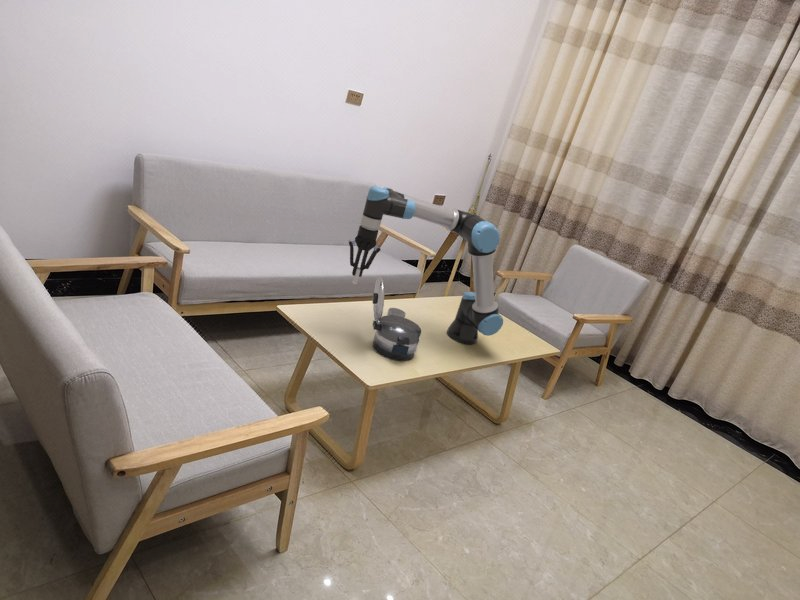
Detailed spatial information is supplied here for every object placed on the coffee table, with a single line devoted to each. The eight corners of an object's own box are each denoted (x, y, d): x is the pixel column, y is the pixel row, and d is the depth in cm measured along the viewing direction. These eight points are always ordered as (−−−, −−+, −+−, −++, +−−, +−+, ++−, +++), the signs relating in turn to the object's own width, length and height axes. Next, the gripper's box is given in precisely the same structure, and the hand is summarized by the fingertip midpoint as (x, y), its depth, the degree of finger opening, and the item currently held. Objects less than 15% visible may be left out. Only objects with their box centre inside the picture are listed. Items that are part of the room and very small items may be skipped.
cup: (398, 337, 244) (404, 317, 240) (381, 331, 245) (386, 311, 241) (401, 330, 251) (407, 311, 248) (385, 325, 252) (390, 306, 249)
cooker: (409, 341, 243) (416, 317, 239) (419, 367, 222) (427, 341, 218) (365, 333, 238) (371, 308, 234) (370, 359, 217) (378, 333, 213)
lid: (382, 270, 225) (373, 269, 224) (387, 286, 209) (378, 285, 208) (376, 313, 232) (368, 313, 232) (381, 332, 216) (372, 331, 215)
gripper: (384, 228, 212) (369, 283, 221) (352, 220, 209) (338, 276, 217) (386, 233, 206) (371, 290, 214) (353, 226, 202) (339, 283, 210)
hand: (354, 283), depth 215 cm, fingers closed
